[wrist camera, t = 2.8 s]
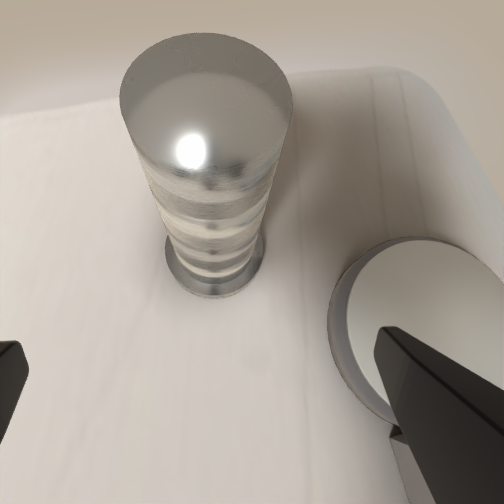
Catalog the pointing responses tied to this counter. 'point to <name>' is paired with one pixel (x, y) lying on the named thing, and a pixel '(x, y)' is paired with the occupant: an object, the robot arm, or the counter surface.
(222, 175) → the disc
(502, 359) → the kitchen scale
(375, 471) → the counter surface
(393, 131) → the counter surface
